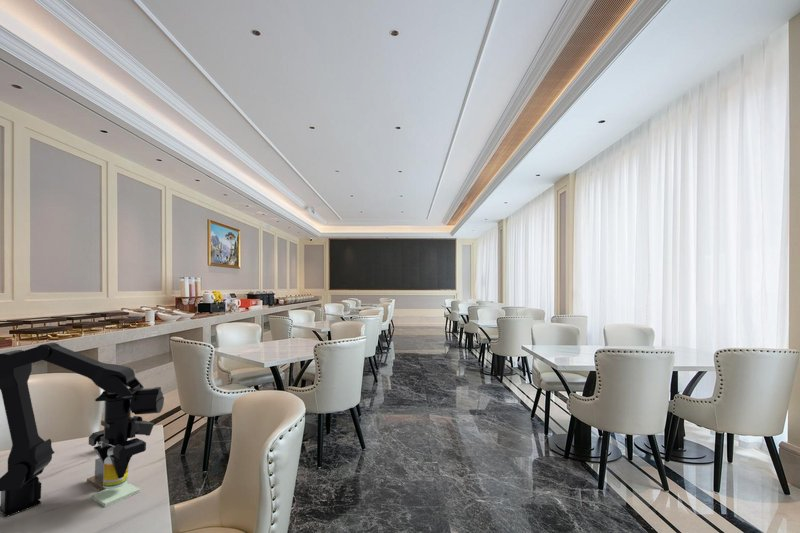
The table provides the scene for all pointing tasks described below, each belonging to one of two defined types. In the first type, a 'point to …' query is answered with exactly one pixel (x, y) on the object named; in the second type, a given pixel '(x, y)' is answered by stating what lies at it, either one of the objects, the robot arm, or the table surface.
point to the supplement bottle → (112, 474)
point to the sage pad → (115, 494)
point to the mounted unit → (97, 475)
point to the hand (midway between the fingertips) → (115, 474)
